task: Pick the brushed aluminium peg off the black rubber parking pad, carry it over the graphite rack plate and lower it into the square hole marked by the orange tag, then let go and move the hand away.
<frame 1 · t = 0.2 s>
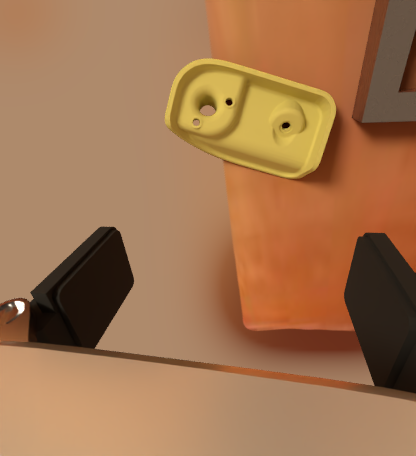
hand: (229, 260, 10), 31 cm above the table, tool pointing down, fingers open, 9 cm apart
plastic component: (250, 117, 36), on the table
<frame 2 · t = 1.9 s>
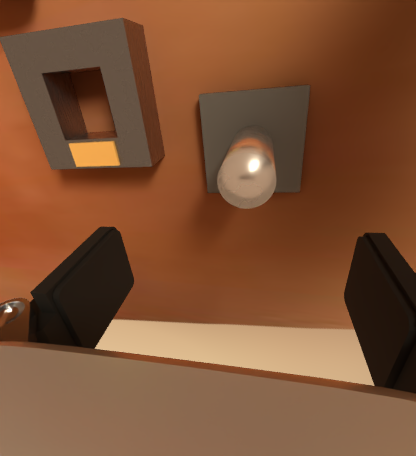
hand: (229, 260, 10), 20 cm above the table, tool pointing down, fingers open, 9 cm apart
peg: (252, 146, 26), point 1 cm above the table, touching parking pad
parking pad: (252, 142, 27), on the table
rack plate: (103, 102, 28), on the table
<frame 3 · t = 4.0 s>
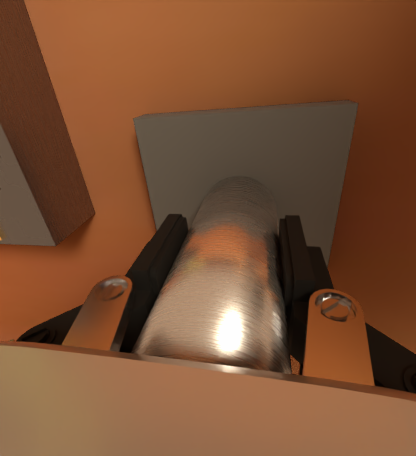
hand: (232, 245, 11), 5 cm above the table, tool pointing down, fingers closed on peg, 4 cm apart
peg: (238, 211, 14), point 2 cm above the table, touching gripper, parking pad
parking pad: (240, 200, 15), on the table
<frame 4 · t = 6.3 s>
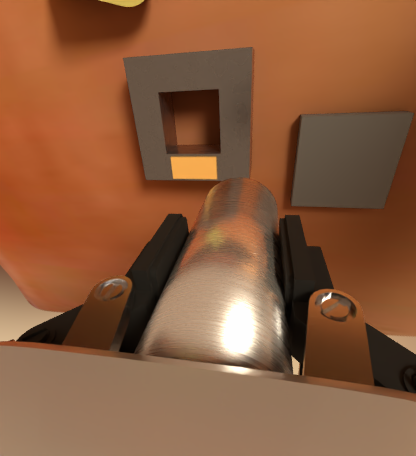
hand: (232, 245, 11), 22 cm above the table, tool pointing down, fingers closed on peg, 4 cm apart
peg: (239, 212, 14), point 18 cm above the table, touching gripper
parking pad: (341, 161, 29), on the table
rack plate: (199, 117, 30), on the table
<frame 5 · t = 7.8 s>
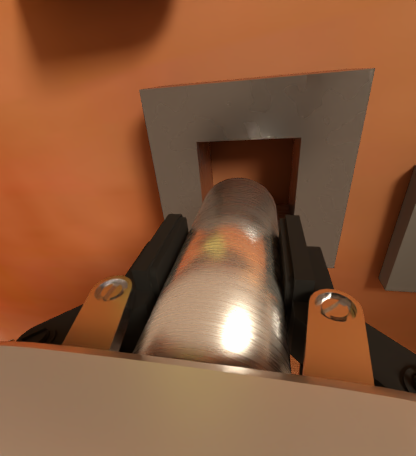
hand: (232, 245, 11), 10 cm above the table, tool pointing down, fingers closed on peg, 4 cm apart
peg: (238, 212, 14), point 7 cm above the table, touching gripper
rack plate: (250, 168, 20), on the table
when the fingers open (6 cm above the table, at t = 9.0 s): peg drops 2 cm, resting in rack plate.
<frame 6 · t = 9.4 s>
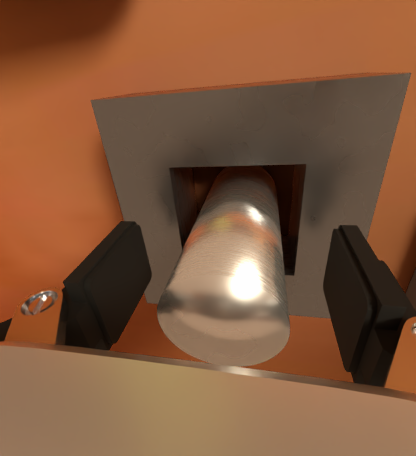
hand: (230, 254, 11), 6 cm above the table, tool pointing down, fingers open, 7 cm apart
peg: (243, 194, 16), resting in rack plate
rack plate: (241, 193, 16), on the table
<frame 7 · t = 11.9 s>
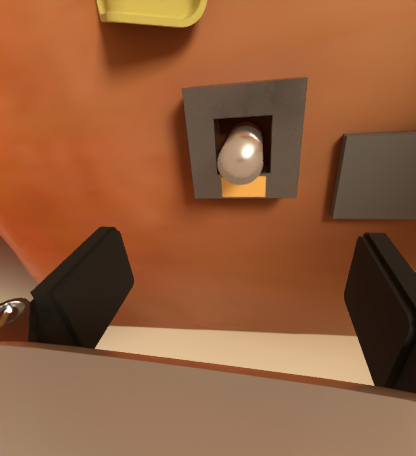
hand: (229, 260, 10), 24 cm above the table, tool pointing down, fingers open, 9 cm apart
peg: (245, 139, 31), resting in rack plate
parking pad: (381, 176, 31), on the table
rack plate: (244, 139, 31), on the table
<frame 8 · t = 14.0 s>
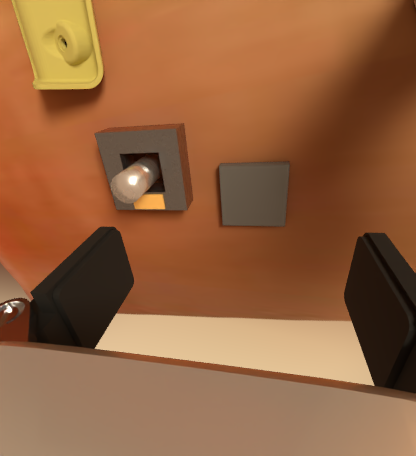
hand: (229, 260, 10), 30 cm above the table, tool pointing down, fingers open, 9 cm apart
plastic component: (63, 0, 33), on the table
peg: (153, 165, 42), resting in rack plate
parking pad: (253, 193, 41), on the table
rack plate: (152, 165, 42), on the table
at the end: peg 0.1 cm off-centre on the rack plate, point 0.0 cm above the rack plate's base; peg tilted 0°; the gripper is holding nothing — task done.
